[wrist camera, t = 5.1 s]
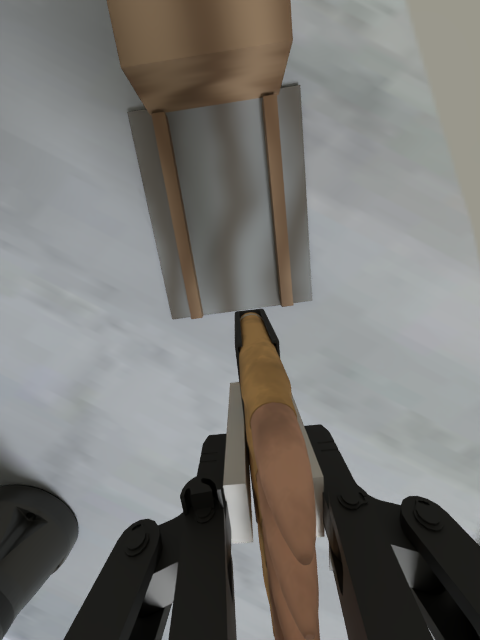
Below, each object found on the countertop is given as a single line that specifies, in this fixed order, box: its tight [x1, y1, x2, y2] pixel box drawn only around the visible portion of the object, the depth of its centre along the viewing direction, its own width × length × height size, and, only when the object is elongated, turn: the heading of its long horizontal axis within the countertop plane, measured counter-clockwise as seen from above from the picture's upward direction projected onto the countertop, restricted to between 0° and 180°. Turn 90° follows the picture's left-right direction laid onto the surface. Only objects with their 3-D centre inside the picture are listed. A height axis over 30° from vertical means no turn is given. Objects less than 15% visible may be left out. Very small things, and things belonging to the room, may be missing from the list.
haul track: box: [107, 0, 312, 319], centre depth 21 cm, size 16×24×6 cm
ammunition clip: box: [235, 309, 320, 640], centre depth 10 cm, size 11×2×12 cm, turn 6°
